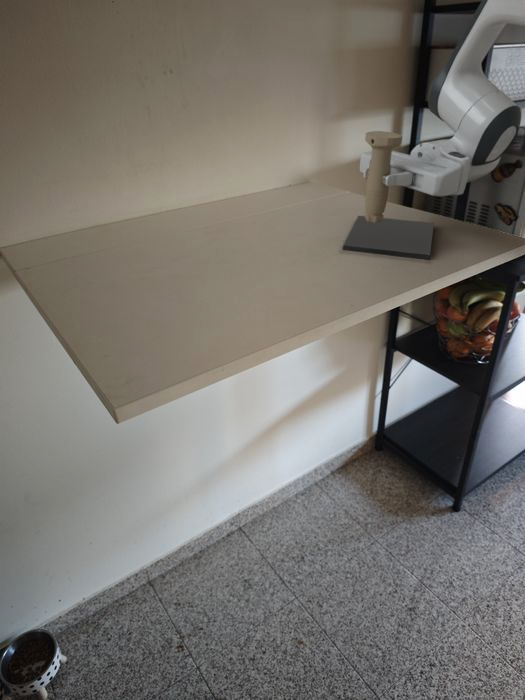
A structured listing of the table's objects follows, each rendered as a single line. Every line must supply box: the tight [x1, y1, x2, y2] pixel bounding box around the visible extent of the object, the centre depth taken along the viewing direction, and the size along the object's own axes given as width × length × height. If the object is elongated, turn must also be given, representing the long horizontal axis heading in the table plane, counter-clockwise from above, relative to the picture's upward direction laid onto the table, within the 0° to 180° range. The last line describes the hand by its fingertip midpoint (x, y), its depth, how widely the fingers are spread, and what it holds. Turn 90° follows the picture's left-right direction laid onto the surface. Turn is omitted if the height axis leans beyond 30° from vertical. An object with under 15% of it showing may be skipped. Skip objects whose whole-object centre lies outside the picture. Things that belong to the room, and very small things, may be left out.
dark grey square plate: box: [342, 215, 435, 261], centre depth 100 cm, size 16×18×1 cm
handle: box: [364, 130, 403, 223], centre depth 89 cm, size 5×6×15 cm
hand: (375, 177), depth 88 cm, fingers closed on handle, 3 cm apart
